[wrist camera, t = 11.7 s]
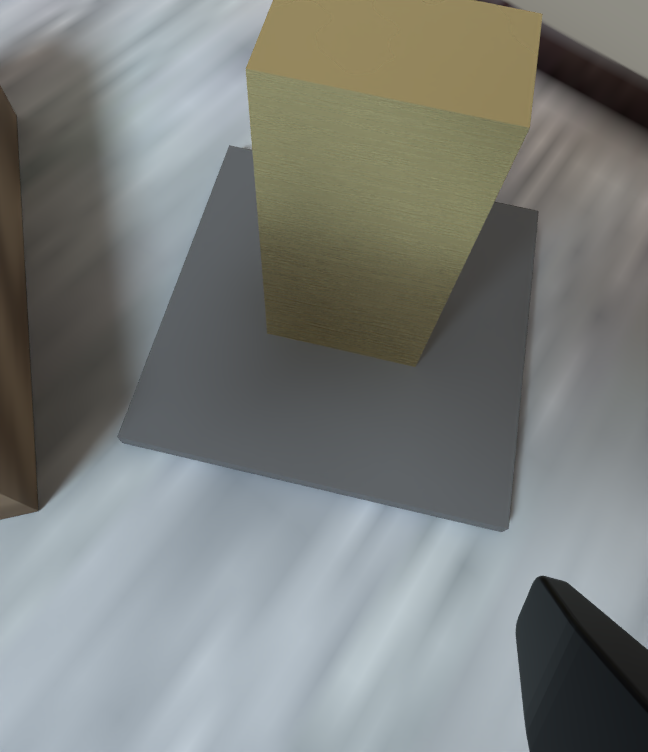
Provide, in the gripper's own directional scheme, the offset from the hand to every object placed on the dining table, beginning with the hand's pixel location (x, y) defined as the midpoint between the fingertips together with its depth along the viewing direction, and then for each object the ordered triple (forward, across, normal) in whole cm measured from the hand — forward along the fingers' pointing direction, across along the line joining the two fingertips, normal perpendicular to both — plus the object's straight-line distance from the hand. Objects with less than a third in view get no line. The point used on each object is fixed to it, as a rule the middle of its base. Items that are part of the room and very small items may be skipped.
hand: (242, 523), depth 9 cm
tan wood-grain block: (+12, -1, -1) cm, 12 cm away
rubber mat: (+12, -1, -1) cm, 12 cm away
